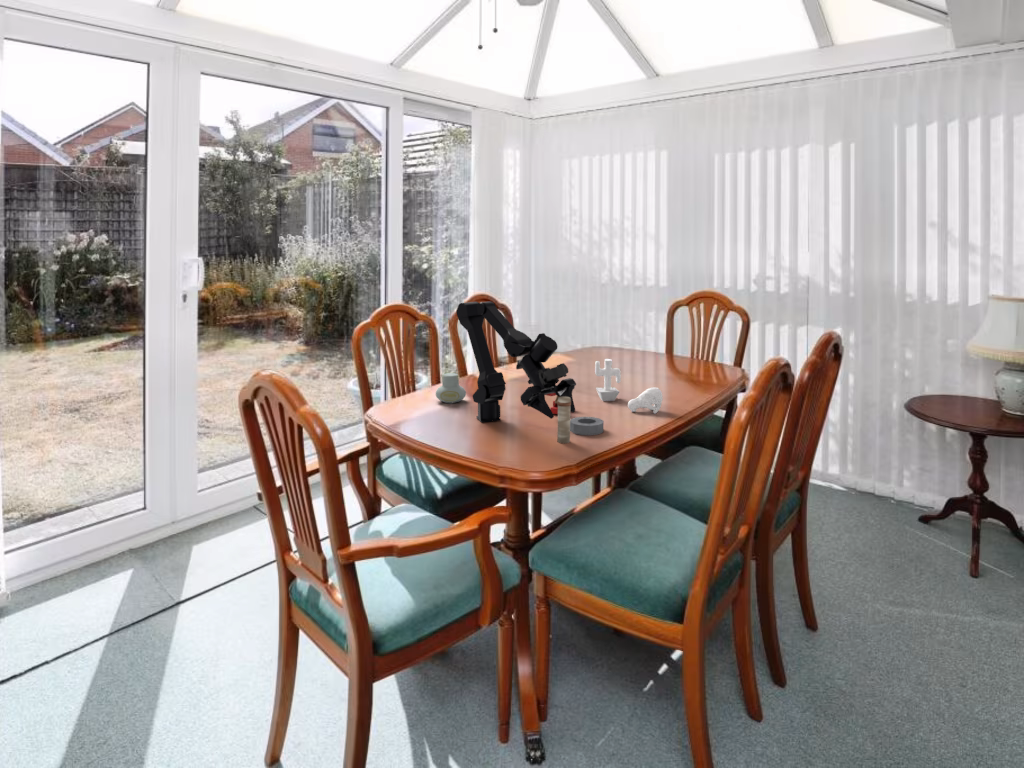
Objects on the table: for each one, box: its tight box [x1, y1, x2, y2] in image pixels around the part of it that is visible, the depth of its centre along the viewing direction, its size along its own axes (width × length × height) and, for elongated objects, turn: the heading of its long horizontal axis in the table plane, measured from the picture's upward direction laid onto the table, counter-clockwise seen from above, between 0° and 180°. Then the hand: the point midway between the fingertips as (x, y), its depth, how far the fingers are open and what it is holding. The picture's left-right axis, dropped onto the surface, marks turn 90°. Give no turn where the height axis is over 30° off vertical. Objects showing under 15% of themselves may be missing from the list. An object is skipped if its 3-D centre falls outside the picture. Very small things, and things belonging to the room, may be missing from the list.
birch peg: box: [557, 397, 571, 444], centre depth 185 cm, size 4×4×13 cm
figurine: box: [594, 358, 622, 402], centre depth 235 cm, size 7×9×15 cm
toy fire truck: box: [546, 393, 559, 415], centre depth 217 cm, size 3×14×10 cm, turn 141°
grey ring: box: [570, 416, 604, 436], centre depth 197 cm, size 10×10×3 cm
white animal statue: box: [627, 386, 663, 414], centre depth 218 cm, size 6×8×12 cm
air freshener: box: [435, 372, 467, 404], centre depth 233 cm, size 11×8×10 cm
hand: (563, 414), depth 185 cm, fingers open, 9 cm apart
